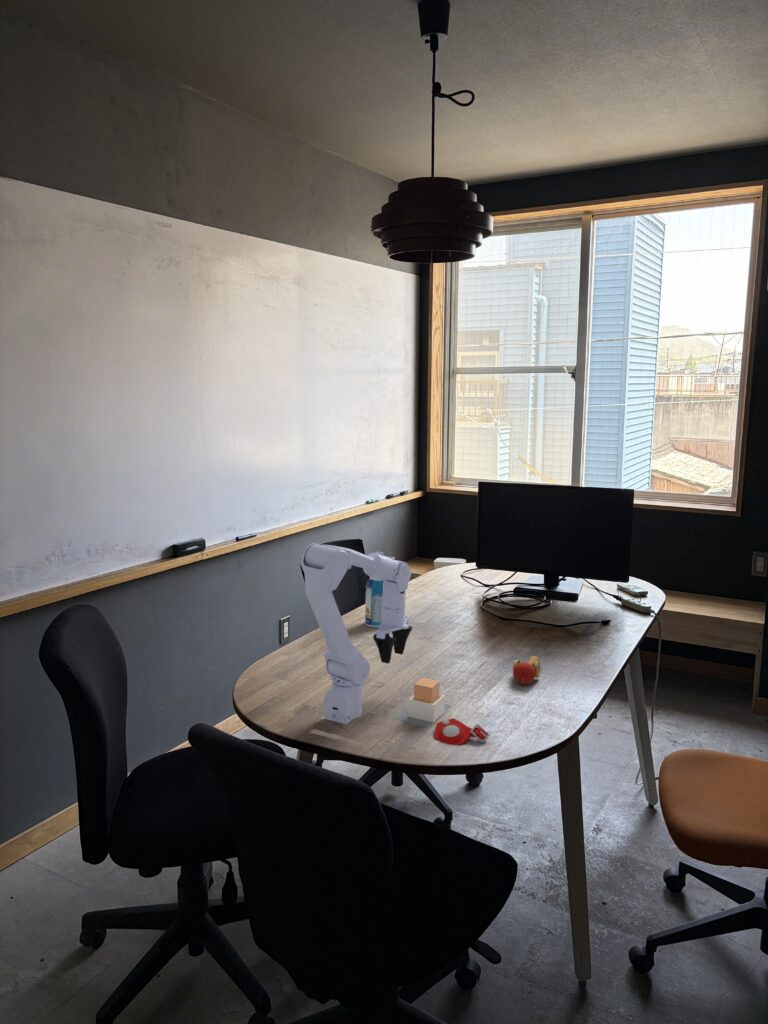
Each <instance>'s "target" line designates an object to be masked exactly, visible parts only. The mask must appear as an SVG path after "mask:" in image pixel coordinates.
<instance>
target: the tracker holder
mask: <svg viewBox="0 0 768 1024" xmlns="http://www.w3.org/2000/svg"><path fill="white" fill-rule="evenodd" d="M433 737H434V740H435V741H437V742H441V743H444V744H447V745H451V746H462V745H465V744H466V743H467V742H468V741H469V738H476V739H478V741H479V742H481V743H482V744H484V743H485V742H486V741H487V739H488V738H489V737H490V733H489V732H488V731H486V730H485V729H484V728H483V727H482V726H481V725H479V723H476V724H475V725H474V726H473V727H472V728H471V727H469V726H467V725H466V724H465V723H463V722H461V721H459V720H458V719H456V718H453V717H452V718H448V719H444V720H441V721H439V722H437V723H436V725H435V728H434V733H433Z"/></svg>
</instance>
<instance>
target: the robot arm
mask: <svg viewBox="0 0 768 1024" xmlns="http://www.w3.org/2000/svg"><path fill="white" fill-rule="evenodd" d="M303 551H304V552H303V554H302V556H301V559H300V566H301V568H302V571H303V573H304V583H305V584H304V586H305V595H306V597H307V600H308V602H309V605H310V607H311V609H312V612H313V615H314V616H315V619H316V621H317V624H318V626H319V628H320V631H321V634H322V636H323V638H324V641H325V643H326V646H327V649H326V650H325V651H324V653H323V657H324V659H325V670H326V672H327V673H328V674H329V675H330V676H329V679H330V680H331V686H330V688H329V689H328V691H326V693H325V695H324V716H322V717H321V718H320V719H321V721H323V720H328V721H331V722H336V723H338V724H343V725H347V724H349V723H350V722H351V721H353V720H355V719H357V718H359V717H361V716H362V712H363V711H362V708H363V707H362V705H363V703H362V702H363V684H364V683H366V680H367V679H368V677H369V675H370V671H371V665H370V662H369V660H368V659H367V658H365V657H364V655H363V652H362V651H361V650H360V649H358V648H357V647H356V646H355V645H354V644H353V643H352V641H351V637H350V636H349V633H348V631H347V628H346V625H345V623H344V619H343V618H342V615H341V613H340V610H339V607H338V604H337V602H336V600H335V597H334V594H333V591H334V590H337V588H338V587H339V585H340V583H341V581H342V580H343V578H344V576H345V575H346V573H347V571H348V570H351V569H352V566H354V567H357V568H362V571H363V572H364V573H365V575H367V576H368V577H369V576H372V577H375V578H378V579H381V580H383V609H382V623H381V625H380V627H379V628H378V629H377V630H376V633H375V634H373V637H372V638H373V641H374V642H375V644H376V647H377V648H378V653H379V658H380V662H381V663H383V664H390V663H391V659H392V653H393V652H394V654H398V655H404V652H405V648H406V644H407V640H408V638H409V635H410V634H411V632H412V631H413V627H412V626H411V625H409V623H410V617H409V616H406V596H407V595H406V591H407V590H408V587H409V582H410V579H411V577H412V570H411V567H410V566H409V565H408V563H407V562H405V561H401V560H396V557H394V556H391V555H389V556H386V555H384V552H381V551H375V552H370V553H368V554H364V553H361V552H359V551H356V550H354V549H351V548H347V547H342V546H338V545H337V546H336V545H329V544H325V543H324V544H320V543H317V542H312V543H310V544H308V545H307V546H306V548H305V549H304V550H303ZM390 634H392V637H391V636H390Z"/></svg>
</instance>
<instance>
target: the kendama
mask: <svg viewBox="0 0 768 1024" xmlns="http://www.w3.org/2000/svg"><path fill="white" fill-rule="evenodd" d="M512 675H513V679H514V681H516V682H517V683H518V684H520V685H523V684H526V685H529V684H531V683H532V682H533V681H534V680H535V678H540V676H541V663H540V659H539V657H538V656H536V655H532V656H530V658H529V659H528V661H520V660H519V659H515V660H513V663H512Z"/></svg>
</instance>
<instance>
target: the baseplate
mask: <svg viewBox="0 0 768 1024" xmlns="http://www.w3.org/2000/svg"><path fill="white" fill-rule="evenodd" d="M451 707H452V704H451V705H450V704H446V703H444V713H443V714H442V715H441V716H440V717H439V718H438V719H437V720H436V721H434V722H429V721H424V720H420V719H416V718H412V717H408V707H406V709H405V710H403V711H402V712H401V713H400V714H398V715H397V716H396V717H395V718H394V720H399V721H402V722H406V723H410V724H415V725H418V726H422V727H427V728H431V726H433V724H435V722H437V721H438V720H439V719H440V718H441V717H442V716H443V715H444V714H445V713H447V711H448V710H449V709H451Z"/></svg>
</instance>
